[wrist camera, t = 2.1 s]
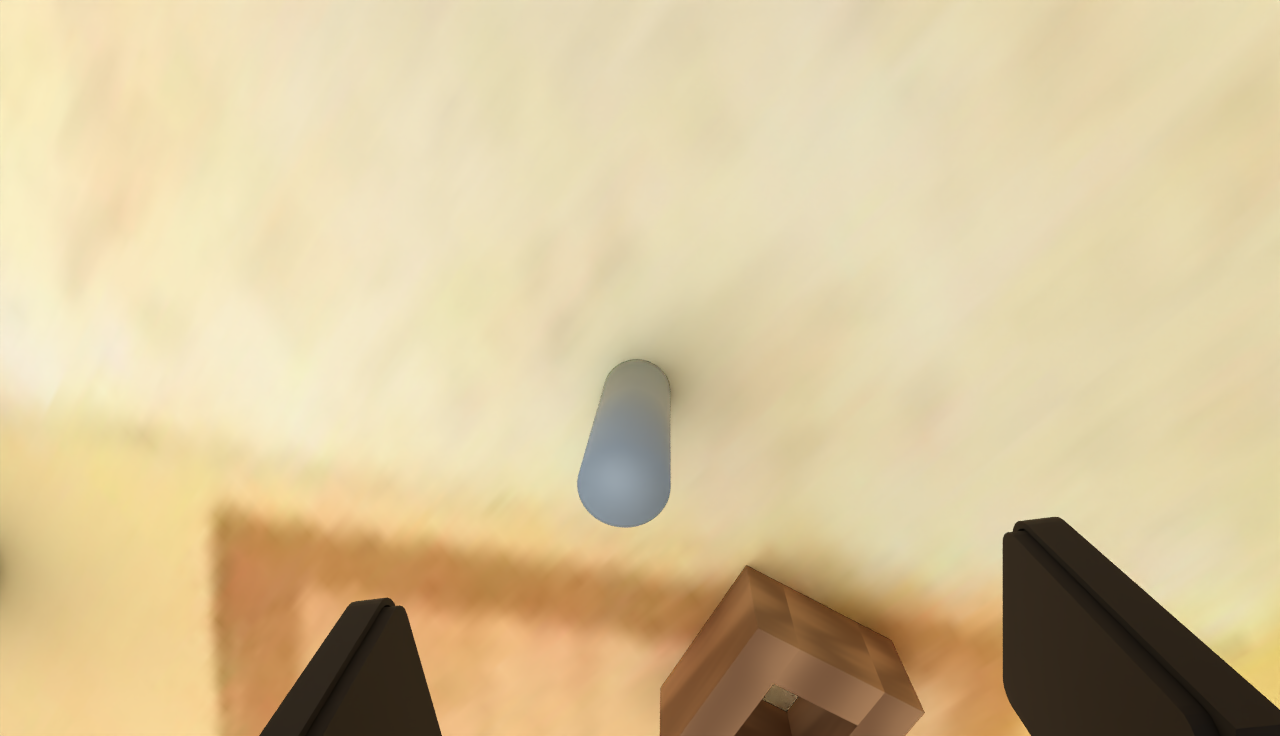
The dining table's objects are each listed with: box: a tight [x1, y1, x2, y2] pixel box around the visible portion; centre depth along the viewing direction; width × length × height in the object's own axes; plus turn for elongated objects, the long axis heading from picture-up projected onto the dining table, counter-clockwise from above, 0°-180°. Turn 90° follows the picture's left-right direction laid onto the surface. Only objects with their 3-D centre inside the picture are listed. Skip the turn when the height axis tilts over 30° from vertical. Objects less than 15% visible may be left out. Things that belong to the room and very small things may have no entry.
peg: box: [577, 360, 670, 527], centre depth 29 cm, size 3×3×10 cm
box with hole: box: [660, 566, 925, 736], centre depth 35 cm, size 9×9×5 cm
